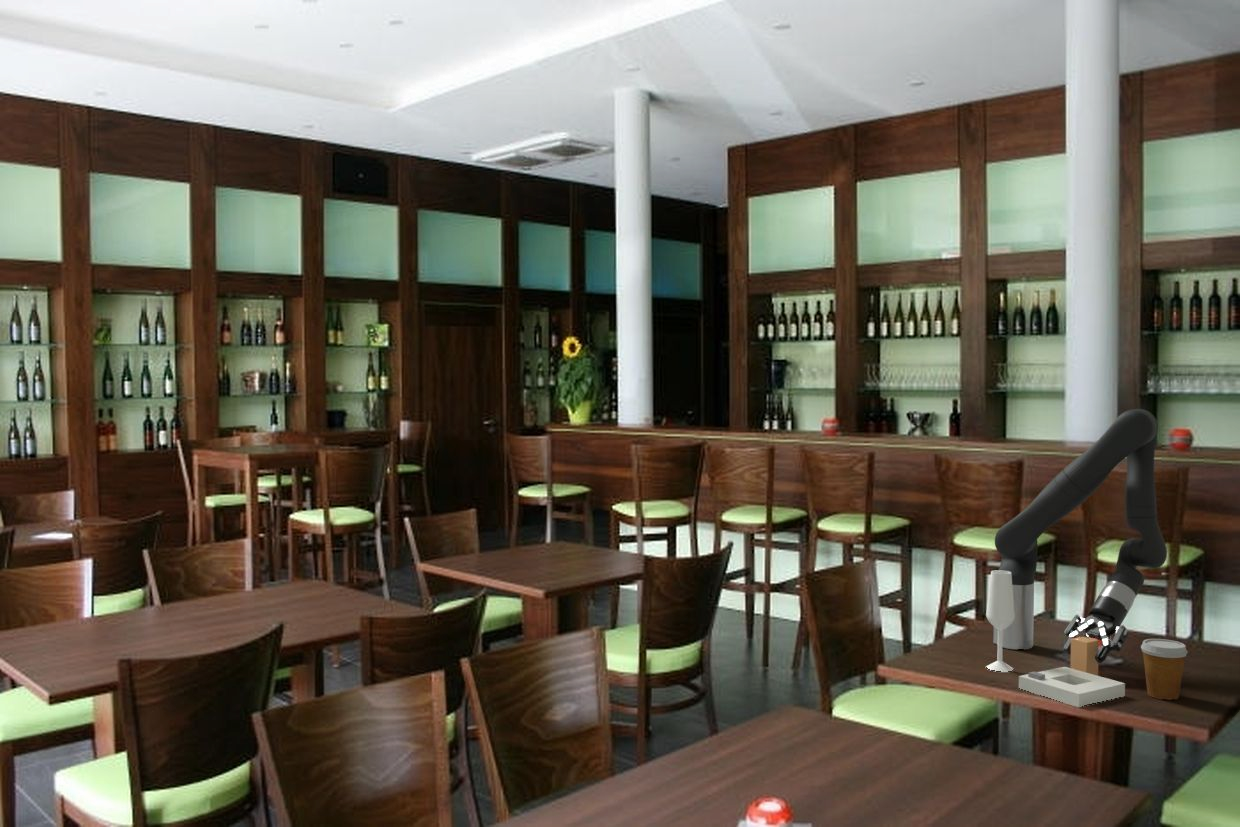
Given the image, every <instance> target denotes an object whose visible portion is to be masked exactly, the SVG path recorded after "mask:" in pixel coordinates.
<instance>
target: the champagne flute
mask: <svg viewBox="0 0 1240 827" xmlns="http://www.w3.org/2000/svg"><path fill="white" fill-rule="evenodd" d="M985 616H986V618H987V621H988V622H989V623H990V625H992V626H993V628H994V627H995V628H996V629H998V645H997V655H996V656H997V658H996V659H997V660H996V661H994V662H992V663H990V664H988V665H986V666H985V668H986V667H987V668H988V669H990V670H989V671H991V670H995V671H994V672H996V671H1001V672H1000V673H1009V672H1008V671H1012V670H1013V669H1014V667H1012V666H1011V665H1009V664H1007V663H1006V662H1005V661H1003V630H1004V629H1006V628H1007V627H1008V626H1009V625H1010V624H1011V623H1012V622H1013V621H1014V619H1015V611H1014V599H1013V587H1012V575H1011V572H1009V571H1002V570H999V569H998V570H996V569H995V570H991V571H990V577H989V587H988V597H987V604H986V613H985ZM988 669H987V670H988ZM1012 672H1013V671H1012Z"/></svg>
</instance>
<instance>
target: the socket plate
mask: <svg viewBox="0 0 1240 827" xmlns="http://www.w3.org/2000/svg"><path fill="white" fill-rule="evenodd" d="M1019 688H1020V689H1019ZM1018 689H1019V690H1021V689H1023V690H1022V691H1024V690H1026V691H1025V692H1027V691H1029V692H1028V693H1030V692H1031V694H1033V693H1034V694H1033V695H1037V696H1040V695H1041V696H1040V697H1043V696H1045V697H1044V698H1046V697H1048V698H1047V699H1049V698H1051V699H1050V700H1053V699H1054V700H1053V701H1056V700H1057V701H1056V702H1059V701H1060V703H1062V702H1063V704H1066V705H1068V706H1069V705H1070V706H1073V707H1076V708H1083V707H1085V706H1084V705H1087V704H1092V703H1096V704H1098V703H1097V702H1100V703H1103V702H1102V701H1104V702H1107V701H1106V700H1108V701H1112V700H1115V698H1117V699H1120V698H1119V697H1121V698H1125V697H1124V696H1125V695H1126V683H1124V682H1122V681H1117V680H1114V679H1111V678H1108V677H1102V676H1100V675H1098V676H1097V675H1093V674H1089V673H1086V672H1082V671H1079V670H1075V669H1071V668H1070V667H1067V666H1062V667H1061V666H1059V667H1056V668H1055V667H1054V668H1051V669H1046V670H1042V671H1034V670H1032V671H1030V672H1028V673H1026V674H1022V675H1018ZM1111 699H1112V700H1111ZM1092 705H1093V704H1092ZM1082 706H1083V707H1082ZM1087 706H1088V705H1087Z"/></svg>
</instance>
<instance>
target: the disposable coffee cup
mask: <svg viewBox="0 0 1240 827" xmlns="http://www.w3.org/2000/svg"><path fill="white" fill-rule="evenodd" d="M1140 649H1141V651H1142V656H1143V664H1144V673H1145V682H1146V689H1147V690H1146V691H1147V692H1146V693H1147V696H1149V697H1152V698H1153V697H1154V699H1159V700H1163V699H1165V700H1166V699H1167V701H1173V700H1172V699H1174V700H1178V699H1179V698H1178V697H1180V689H1181V685H1182V684H1181V683H1182V679H1183V672H1184V666H1185V659H1186V656H1187V654H1188V653H1189V652H1188V650H1187V648H1186V644H1184V643H1183V642H1181V641H1176V640H1173V639H1172V640H1171V639H1164V638H1148V639H1147V638H1146V639H1144V640H1142V644H1141V645H1140Z"/></svg>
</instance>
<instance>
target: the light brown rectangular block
mask: <svg viewBox="0 0 1240 827" xmlns="http://www.w3.org/2000/svg"><path fill="white" fill-rule="evenodd" d="M1099 646H1100V640H1098V639H1093V638H1090V637H1089V638H1087V637H1078V638H1072V639H1071V655H1070V666H1069V668H1071V669H1075V670H1079V671H1082V672H1086V673H1089V674H1093V675H1097V676H1099V663H1098V662H1097V661H1096V659H1095V656H1096V654H1097V652H1098V651H1099V649H1100V648H1099Z"/></svg>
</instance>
